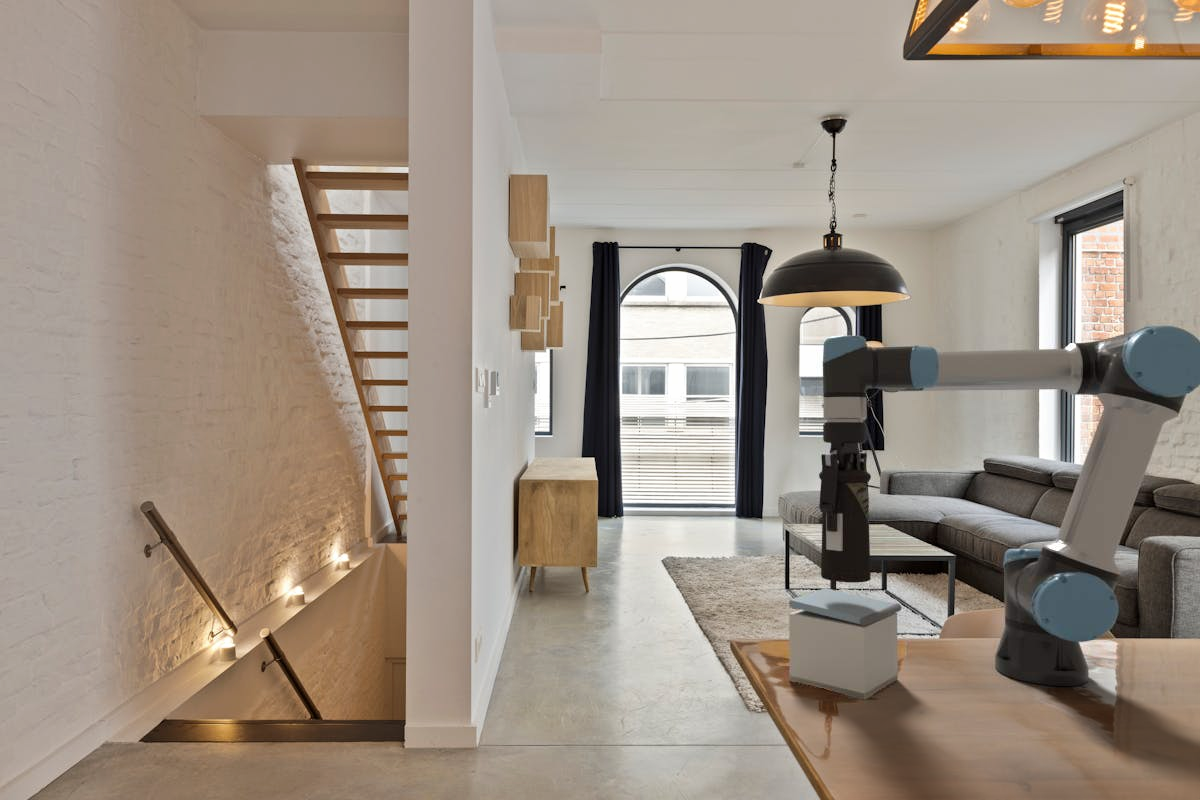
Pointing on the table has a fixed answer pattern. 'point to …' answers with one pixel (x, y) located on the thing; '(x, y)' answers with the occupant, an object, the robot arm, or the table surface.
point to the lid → (845, 606)
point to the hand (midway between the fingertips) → (845, 547)
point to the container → (850, 532)
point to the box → (842, 653)
